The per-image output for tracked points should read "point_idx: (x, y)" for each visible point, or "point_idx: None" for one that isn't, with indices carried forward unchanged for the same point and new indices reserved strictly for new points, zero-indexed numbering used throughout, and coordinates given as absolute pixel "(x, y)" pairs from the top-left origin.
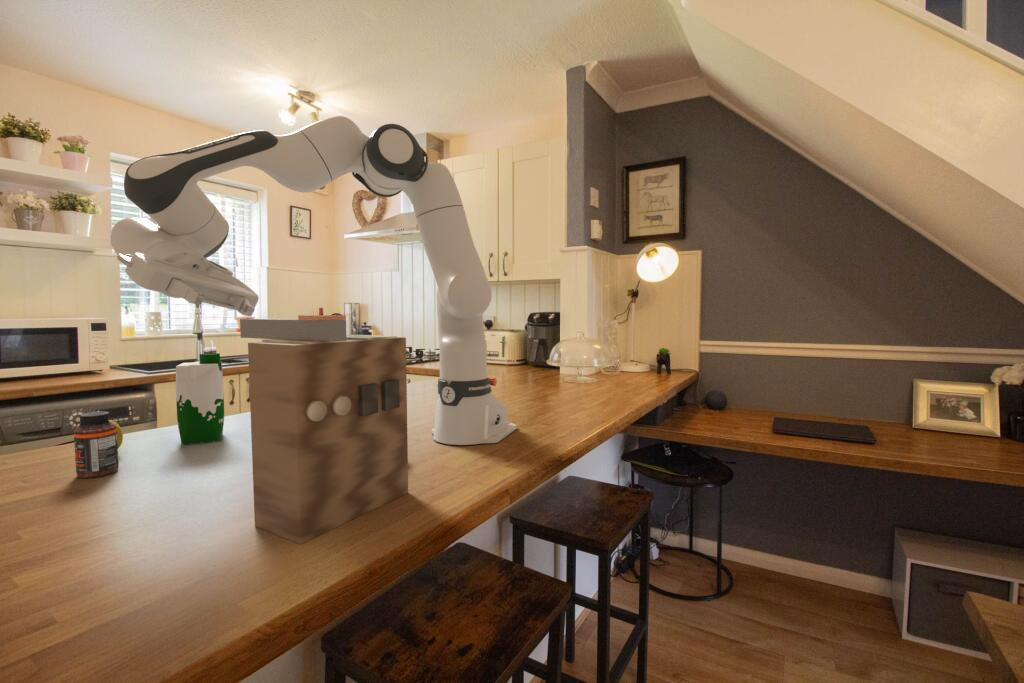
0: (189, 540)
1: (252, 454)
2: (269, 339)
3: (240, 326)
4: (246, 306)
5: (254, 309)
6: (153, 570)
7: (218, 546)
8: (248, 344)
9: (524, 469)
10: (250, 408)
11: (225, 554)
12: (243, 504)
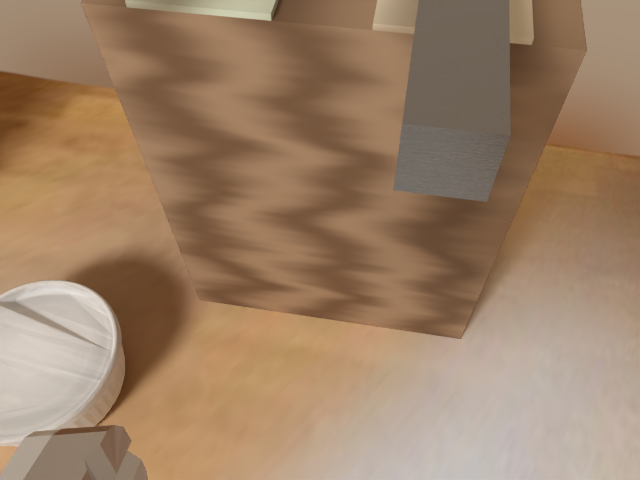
0: (555, 400)
1: (492, 265)
2: (510, 29)
3: (500, 162)
4: (108, 440)
5: (40, 432)
6: (635, 357)
7: (537, 334)
8: (584, 53)
9: (72, 89)
10: (521, 199)
11: (544, 302)
12: (400, 453)
